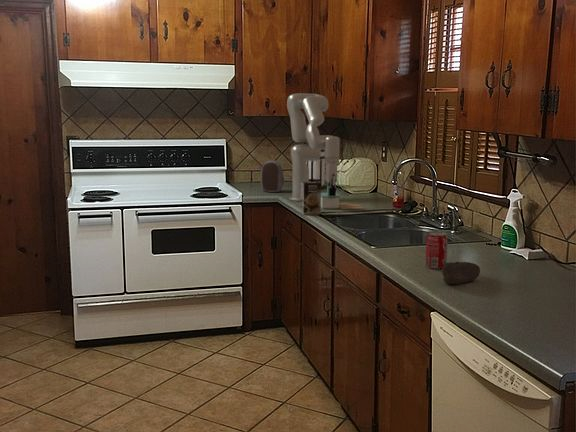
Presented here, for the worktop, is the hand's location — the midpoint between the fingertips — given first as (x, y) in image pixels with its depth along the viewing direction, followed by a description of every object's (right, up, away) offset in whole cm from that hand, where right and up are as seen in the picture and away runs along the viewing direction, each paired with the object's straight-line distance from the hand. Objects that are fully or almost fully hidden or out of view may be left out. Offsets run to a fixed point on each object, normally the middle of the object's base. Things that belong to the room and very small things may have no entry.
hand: (331, 194), depth 319 cm
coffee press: (-5, +6, +78) cm, 78 cm away
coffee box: (-11, -10, -11) cm, 19 cm away
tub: (-1, -6, +9) cm, 11 cm away
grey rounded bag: (-32, +3, +61) cm, 69 cm away
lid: (-1, -1, +6) cm, 6 cm away
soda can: (+28, -29, -109) cm, 116 cm away
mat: (+11, -6, +9) cm, 16 cm away
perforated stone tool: (+32, -33, -126) cm, 134 cm away
